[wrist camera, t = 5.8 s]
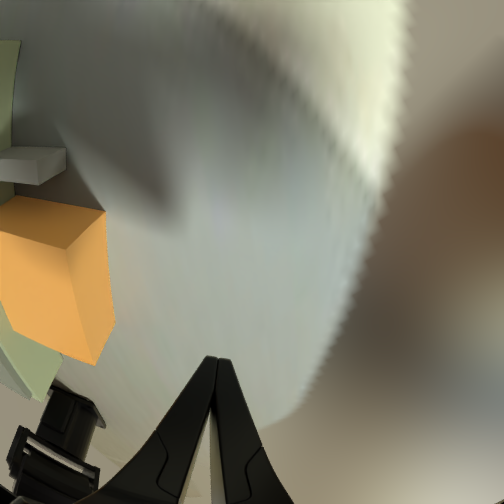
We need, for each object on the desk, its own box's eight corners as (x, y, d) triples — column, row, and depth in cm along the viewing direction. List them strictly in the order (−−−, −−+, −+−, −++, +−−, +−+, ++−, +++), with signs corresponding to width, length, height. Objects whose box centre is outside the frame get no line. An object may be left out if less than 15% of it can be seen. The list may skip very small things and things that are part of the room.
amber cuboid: (117, 320, 15) (94, 365, 12) (40, 294, 14) (13, 330, 11) (108, 209, 11) (65, 249, 8) (20, 193, 11) (-24, 223, 8)
